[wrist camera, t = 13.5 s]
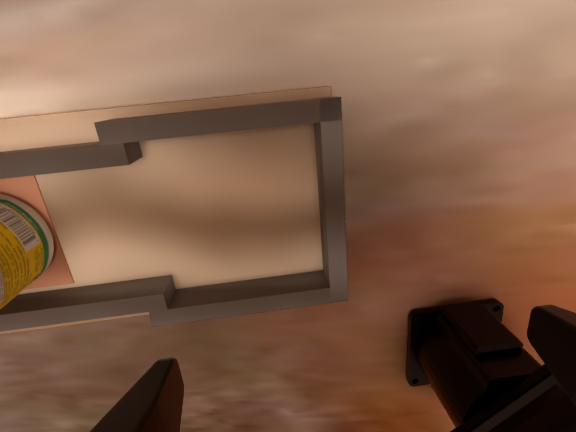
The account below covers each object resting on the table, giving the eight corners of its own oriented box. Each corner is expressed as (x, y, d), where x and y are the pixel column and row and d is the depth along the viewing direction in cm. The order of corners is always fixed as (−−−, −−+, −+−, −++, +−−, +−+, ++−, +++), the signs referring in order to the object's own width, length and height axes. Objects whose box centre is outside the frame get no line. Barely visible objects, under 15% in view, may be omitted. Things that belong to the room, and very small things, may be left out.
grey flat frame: (338, 283, 22) (348, 307, 19) (-15, 330, 21) (-51, 362, 18) (328, 86, 18) (340, 85, 15) (-117, 130, 16) (-181, 138, 14)
